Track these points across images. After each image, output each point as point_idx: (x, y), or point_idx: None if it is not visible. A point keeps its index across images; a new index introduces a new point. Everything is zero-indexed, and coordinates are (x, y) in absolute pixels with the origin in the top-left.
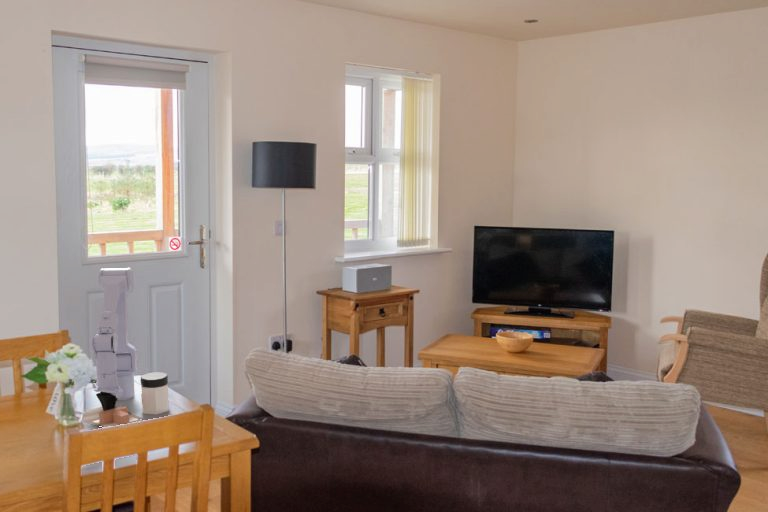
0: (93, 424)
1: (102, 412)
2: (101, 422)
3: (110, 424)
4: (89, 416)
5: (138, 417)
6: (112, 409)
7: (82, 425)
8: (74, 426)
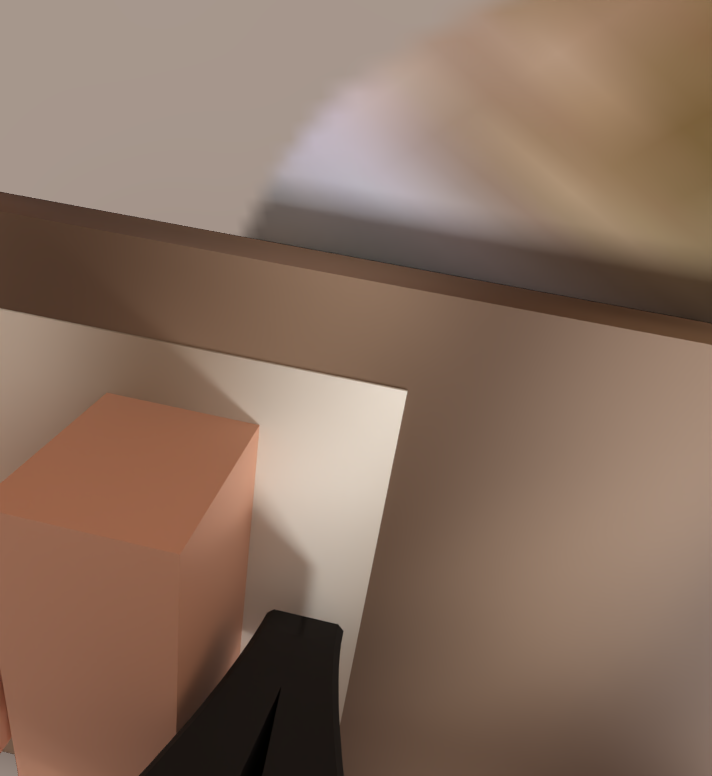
0: (245, 287)
1: (117, 587)
2: (180, 414)
3: (10, 432)
4: (695, 541)
5: (10, 741)
6: (135, 762)
7: (569, 237)
8: (700, 93)
